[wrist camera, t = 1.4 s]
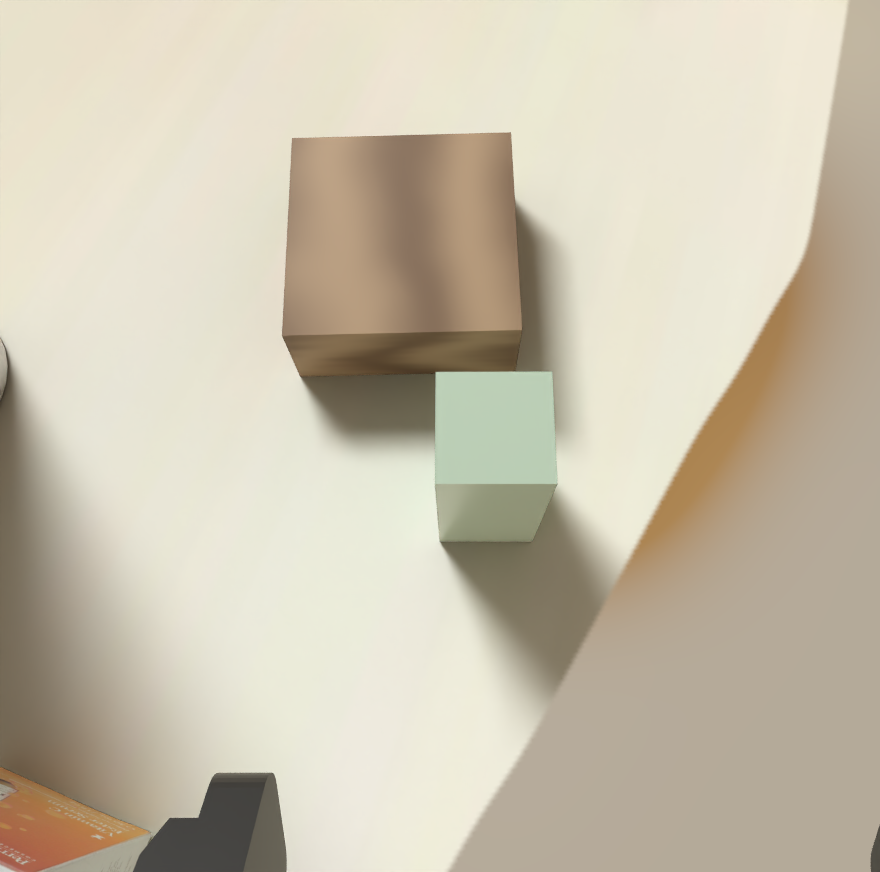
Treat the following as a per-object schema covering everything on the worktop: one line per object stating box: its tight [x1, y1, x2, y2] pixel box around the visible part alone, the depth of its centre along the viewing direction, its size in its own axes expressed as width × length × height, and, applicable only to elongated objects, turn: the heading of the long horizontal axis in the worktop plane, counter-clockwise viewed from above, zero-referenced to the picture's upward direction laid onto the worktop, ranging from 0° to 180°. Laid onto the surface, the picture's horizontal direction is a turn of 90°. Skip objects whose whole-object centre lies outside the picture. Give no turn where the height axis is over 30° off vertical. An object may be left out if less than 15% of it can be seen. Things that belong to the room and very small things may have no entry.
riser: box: [282, 133, 522, 377], centre depth 41 cm, size 11×11×5 cm
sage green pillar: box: [435, 372, 557, 542], centre depth 35 cm, size 4×4×10 cm
